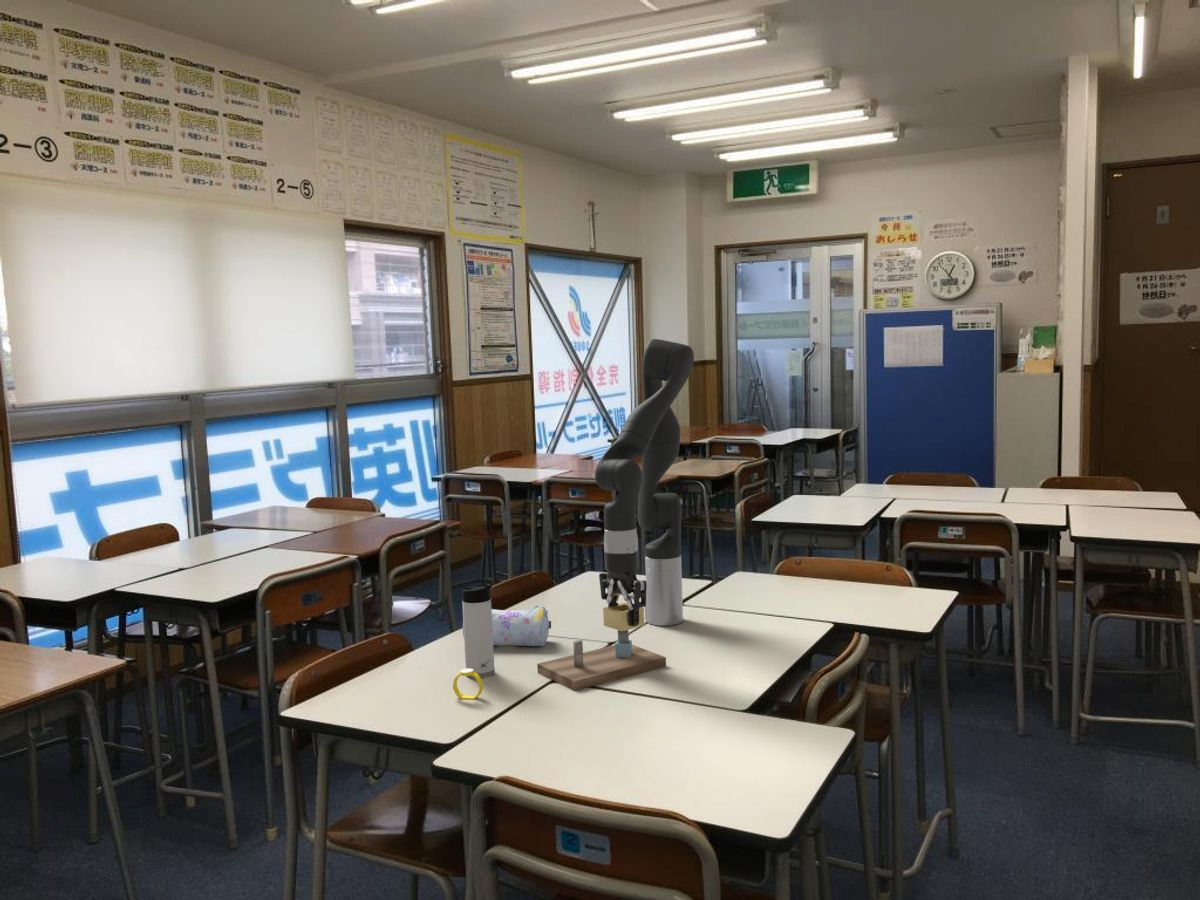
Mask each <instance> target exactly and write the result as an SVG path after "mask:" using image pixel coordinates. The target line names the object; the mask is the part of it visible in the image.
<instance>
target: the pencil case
mask: <svg viewBox="0 0 1200 900" xmlns="http://www.w3.org/2000/svg"><path fill="white" fill-rule="evenodd" d="M491 609H492V628H493V646H506V647H507V646H508V647H509V646H510V647H516V646H517V647H518V646H520V647H544V646H545V644H546V642H547V641H548V637H549V632H550V631H549V630H550V629H552V621H551V620H549V616H548V613H549V611H548V610H547V609H546V607H545V606H539V605H538V604H537V605H534V606H533V607H532V608H529V609H528V608H525V609H524V608H523V609H517V610H516V609H515V610H503V609H494V608H491ZM462 636H463V638H464V625H463V624H462Z"/></svg>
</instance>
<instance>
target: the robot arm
mask: <svg viewBox="0 0 1200 900" xmlns="http://www.w3.org/2000/svg"><path fill="white" fill-rule="evenodd" d="M643 351H644V352H643V358H642V381H643V382H642V384H643V402H642V403H640V404H639V405H638V406H636V407H635V408H634V409H633V410H632V411H631V412H630V413H629V415H628V416H627V418H626V420H625V422H624V424H623V426H622V428H621V430H620V432H619V435H618V437H617V439H616V440H615V441H614V442H613V443H612V444H611V445H610V446H609V448H608V449H607V450H606V451H605V453H604V454H603V455H602V456H601V457H600V459H599V461H598V463H597V464H596V467H595V471H594V478H595V483H596V485H597V486H598V488H601V489H603V490H604V491H614V492H615V491H617V492H618V494H617V498H616V500H613V501H609V502H607V503H605V505H604V507H603V522H604V524H603V526H604V535H603V550H604V551H603V552H604V555H603V556H604V570H606V572H601V573H599V575H598V580H599V588H600V597H601V600H605V601H606V604H607V607H610V606H614V605H618V604H619V598H620V596H622V597H623V598H622V599H623V600H624V601H625V602H626V603H627V604H628V607H629V609H630V610H629V625H630V626H632V627H633V626H637V625H638V624H639V609H640V608H641V607H643V608H644V620H645V621H647V623H648V624H650V625H654V626H665V627H666V626H675V625H679V624H682V622H683V621H684V612H683V610H684V609H683V577H682V575H683V574H682V571H683V570H682V540H681V539H682V538H681V536H682V535H681V532H682V530H681V529H682V528H681V527H682V526H681V525H682V505H681V500H680V497H679V496H678V494H677V493H675V492H663V493H662V492H661V493H655V491H656V490H657V486H658V484H659V482H660V480H661V479H662V478H663V477H664V475H665V474H666V473H667V471H668V470H669V469H670V468H671V467H672V465H673V464H674V462H675V461H676V459H677V457H678V455H679V452H680V443H681V442H680V440H681V426H680V423H679V421H678V418H677V416H676V415H675V414H676V413H674V411H673V409H672V407H671V405H672V404H673V403H674V401H675V400H676V398H677V396H678V395H679V393H680V392H681V390H682V389H683V387H684V386H685V384H686V383H687V381H688V379H689V378H690V375H691V373H692V370H693V366H694V361H695V357H694V356H695V354H694V350H693V348H692V347H691V346H690V345H687V344H683V343H680V342H674V341H668V340H664V339H659V338H653V339H651V340H649V341H648V343H647V344H646V345H645V348H644V350H643ZM663 381H664V382H665V383H663ZM639 458H641V467H640V465H639V463H638V462H637V461H635V459H639ZM636 511H637V512H636ZM636 513H637V516H636ZM637 522H638V525H639V527H640V528H641V529H642V530H645V531H659V530H660V531H661V530H666V532H665V533H664V534H663V535H661V536H660V537H659V538H657V539H655V540H652V541H651V542H649V543H647V544H646V545H645V546H644V560H645V561H644V565H645V580H639V579H638V578H637V573H636V572H637V570H638V569H639V566H640V564H639V563H640V560H639V538H638V532H637ZM606 590H607V592H606Z"/></svg>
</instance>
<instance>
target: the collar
mask: <svg viewBox="0 0 1200 900" xmlns="http://www.w3.org/2000/svg"><path fill="white" fill-rule="evenodd" d="M629 610H630V609H629V607H628V604H627V602H622V603H618V605H614V606H610V607H608V606H606V607H603V608H602V612H603V613H602V614H603V616H602V617H603V626H604V627H607V628H610V629H613V630H617V631H618V630H619V631H625V630H628V631H629V630H633V629H636V628H639V627H644V626H645V607H641V608H640V609H639V624H638V625H637V626H633V627H632V626H630V625H629Z"/></svg>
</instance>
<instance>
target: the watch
mask: <svg viewBox="0 0 1200 900" xmlns="http://www.w3.org/2000/svg"><path fill="white" fill-rule="evenodd" d="M469 675H472V676H473V677H475V678H474V679H475V680H476V681H477V683H478V689H479V690H478V692H477V694H476V695H464V694H463V693H461V691H460V690H459V688H458V680H459V677H461V676H463V677H468V676H469ZM483 689H484V683H483V678H480V676H479V675H478V674H477V673H475V672H474V670H473V669H471V668H468V669H466V668H463V669H461V670H460V671H459V673H458V674H457V675H456V676H455V677H454V679H453V683H452V690H453V691H454V694H455V695H456V696H457V697H458V698H459V699H460V700H474V699H475V700H476V699H477V698H478V697H479V696H480V695H481V694H482V691H483Z"/></svg>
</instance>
